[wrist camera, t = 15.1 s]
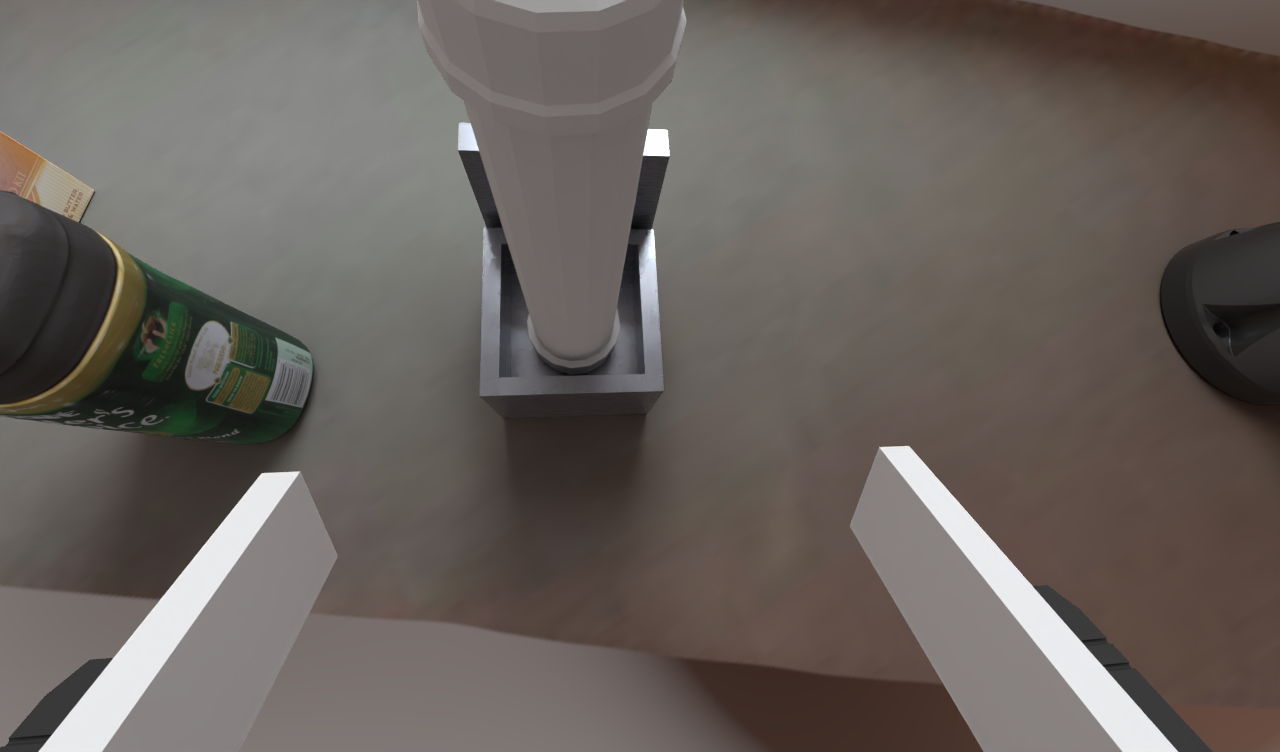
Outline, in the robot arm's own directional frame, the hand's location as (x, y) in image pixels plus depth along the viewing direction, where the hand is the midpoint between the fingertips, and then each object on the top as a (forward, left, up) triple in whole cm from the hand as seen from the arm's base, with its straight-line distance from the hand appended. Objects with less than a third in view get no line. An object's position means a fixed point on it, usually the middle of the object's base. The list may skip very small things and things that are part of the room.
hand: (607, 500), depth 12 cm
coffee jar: (+24, +4, -23) cm, 33 cm away
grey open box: (+7, -10, -22) cm, 25 cm away
